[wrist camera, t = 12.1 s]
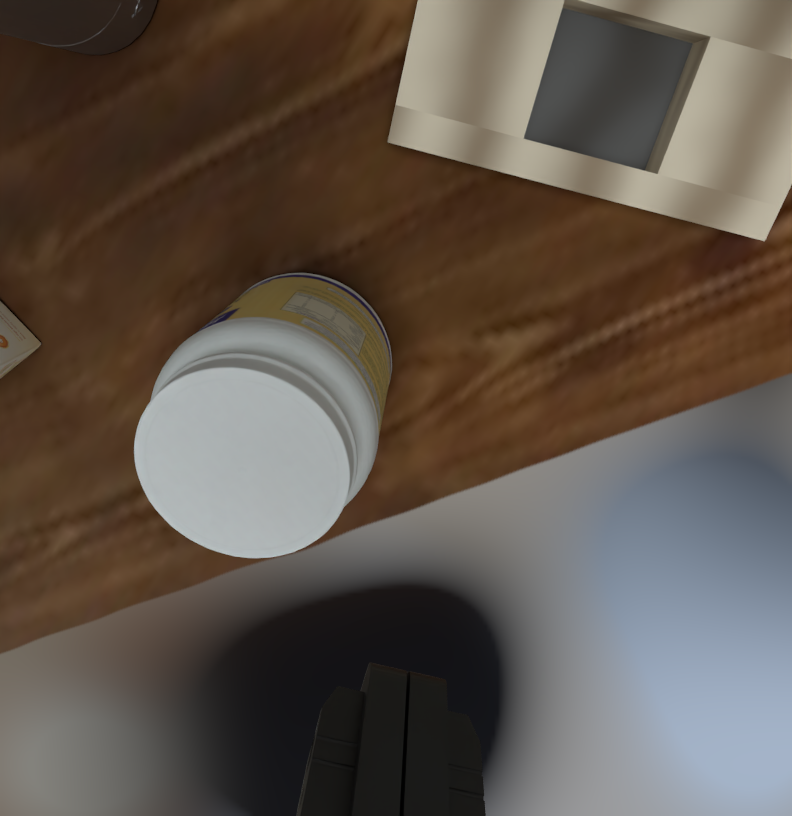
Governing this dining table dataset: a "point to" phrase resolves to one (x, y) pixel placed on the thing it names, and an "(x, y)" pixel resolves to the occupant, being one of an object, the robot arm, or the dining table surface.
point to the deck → (612, 100)
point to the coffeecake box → (14, 341)
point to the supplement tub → (267, 418)
